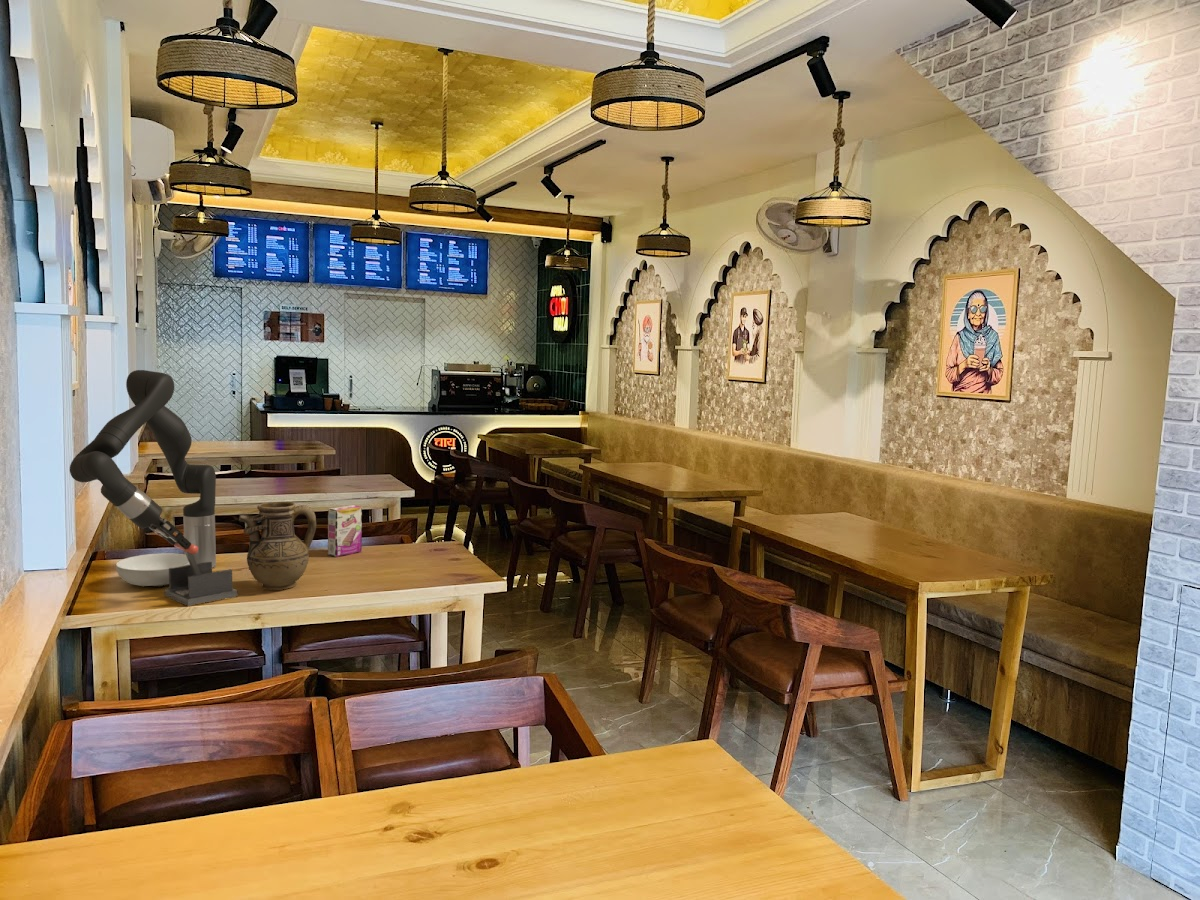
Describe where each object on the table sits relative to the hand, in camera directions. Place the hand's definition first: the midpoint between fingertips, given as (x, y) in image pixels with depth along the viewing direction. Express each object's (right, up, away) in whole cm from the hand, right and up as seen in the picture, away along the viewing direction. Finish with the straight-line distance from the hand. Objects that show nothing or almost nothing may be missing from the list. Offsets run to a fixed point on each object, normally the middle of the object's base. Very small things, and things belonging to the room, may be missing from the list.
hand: (182, 544), depth 253 cm
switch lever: (+3, -11, +5) cm, 13 cm away
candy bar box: (+28, -10, +61) cm, 68 cm away
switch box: (+3, -15, +5) cm, 17 cm away
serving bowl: (-16, -14, +19) cm, 28 cm away
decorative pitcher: (+21, -15, +17) cm, 31 cm away
